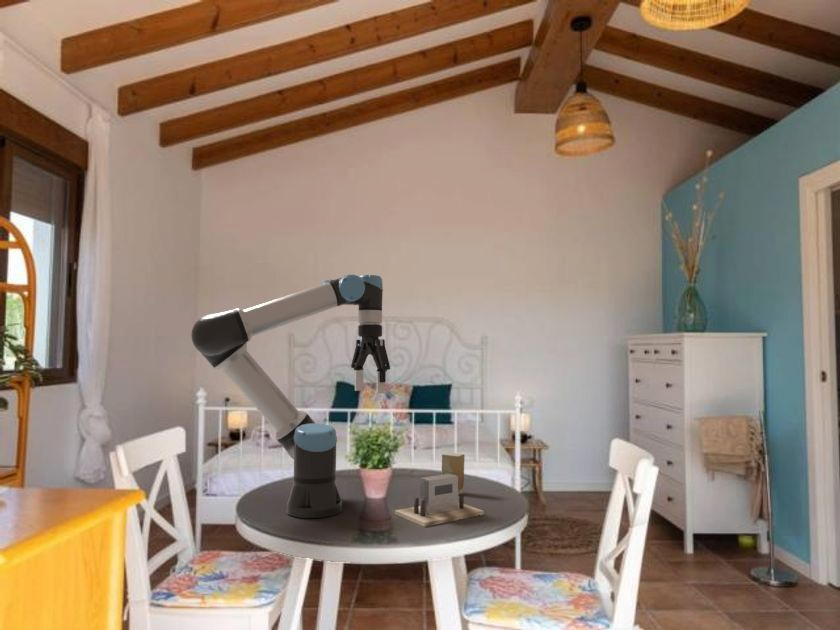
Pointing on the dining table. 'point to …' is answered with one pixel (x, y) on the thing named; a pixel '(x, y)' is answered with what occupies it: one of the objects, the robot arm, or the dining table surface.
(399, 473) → the dining table surface
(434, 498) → the drive
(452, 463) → the skincare box
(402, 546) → the dining table surface
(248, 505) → the dining table surface
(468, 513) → the pin tray
